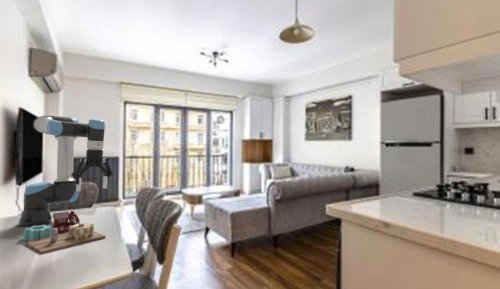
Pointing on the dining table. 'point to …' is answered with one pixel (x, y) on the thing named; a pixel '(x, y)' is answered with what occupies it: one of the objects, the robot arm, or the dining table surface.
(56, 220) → the toy fire truck
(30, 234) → the teal gear
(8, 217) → the dining table surface
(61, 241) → the gear board
